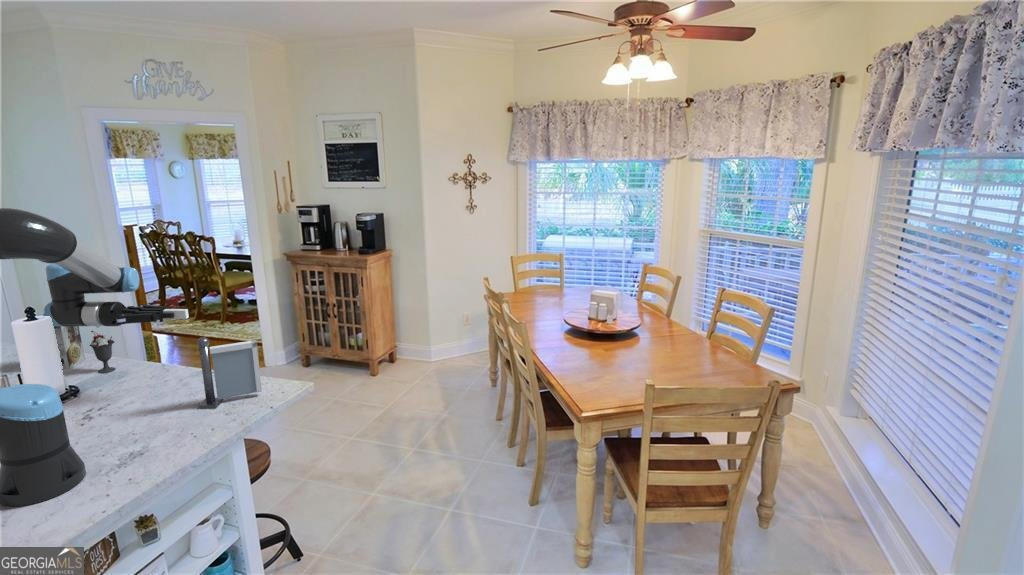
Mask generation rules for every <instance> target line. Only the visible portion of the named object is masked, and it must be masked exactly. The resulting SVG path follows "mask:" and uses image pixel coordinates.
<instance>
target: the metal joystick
mask: <svg viewBox="0 0 1024 575" xmlns="http://www.w3.org/2000/svg"><path fill="white" fill-rule="evenodd" d="M209 345H210V339H209V338H208V337H203V336H202V337H200V338H198V339H197V341H196V346H197V347H198V350H199V357H200V364H201V373H202V380H203V387H204V395H205V396H204V397H205V398H204V400H202V402H200V403H199V404H198V406H197V407H198V409H199V408H200V410H201V409H207V410H208V409H217V408H218V407H219V406H220V405H221V404H222V403H223V402H224V401H223V400H224V398H223V399H217V397H216V394H215V388H214V379H213V371H212V365H211V356H210V355H211V354H210V347H209ZM222 401H223V402H222Z"/></svg>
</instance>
